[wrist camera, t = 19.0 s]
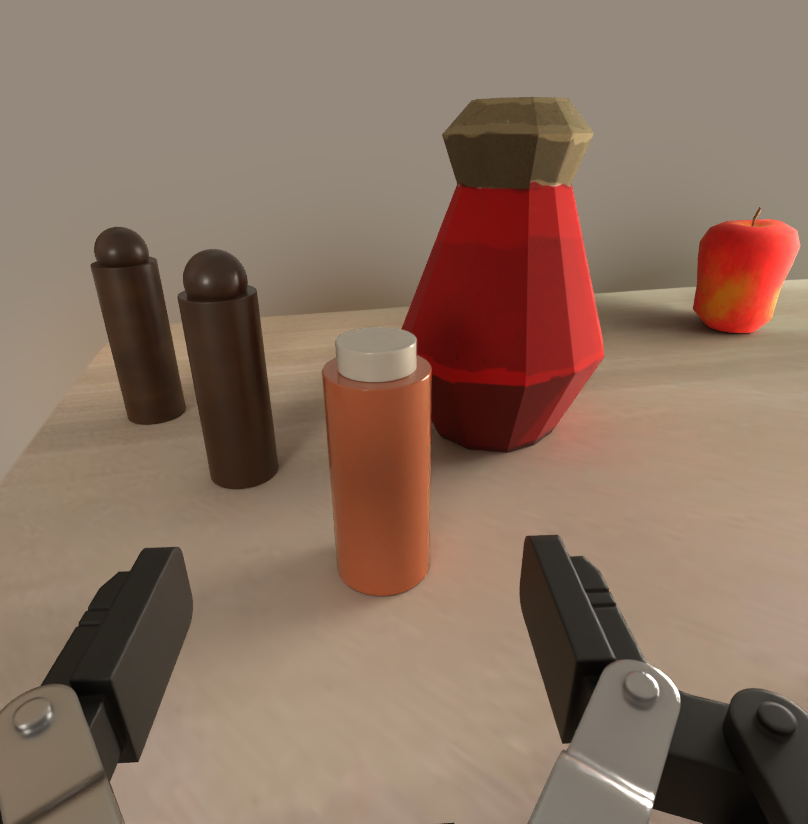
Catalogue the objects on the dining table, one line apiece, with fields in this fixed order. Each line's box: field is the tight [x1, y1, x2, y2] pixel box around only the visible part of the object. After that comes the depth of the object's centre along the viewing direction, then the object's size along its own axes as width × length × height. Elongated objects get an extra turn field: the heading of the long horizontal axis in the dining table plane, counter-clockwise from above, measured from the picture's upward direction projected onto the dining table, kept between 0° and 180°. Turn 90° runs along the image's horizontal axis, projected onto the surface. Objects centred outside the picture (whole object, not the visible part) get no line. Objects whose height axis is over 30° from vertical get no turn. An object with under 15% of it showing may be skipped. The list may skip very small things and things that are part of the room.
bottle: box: [402, 97, 604, 452], centre depth 36 cm, size 16×14×20 cm
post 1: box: [91, 227, 186, 424], centre depth 40 cm, size 4×4×13 cm
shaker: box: [322, 327, 432, 596], centre depth 25 cm, size 4×4×11 cm
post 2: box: [178, 249, 278, 489], centre depth 32 cm, size 4×4×13 cm
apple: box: [693, 207, 800, 333], centre depth 57 cm, size 9×8×12 cm
